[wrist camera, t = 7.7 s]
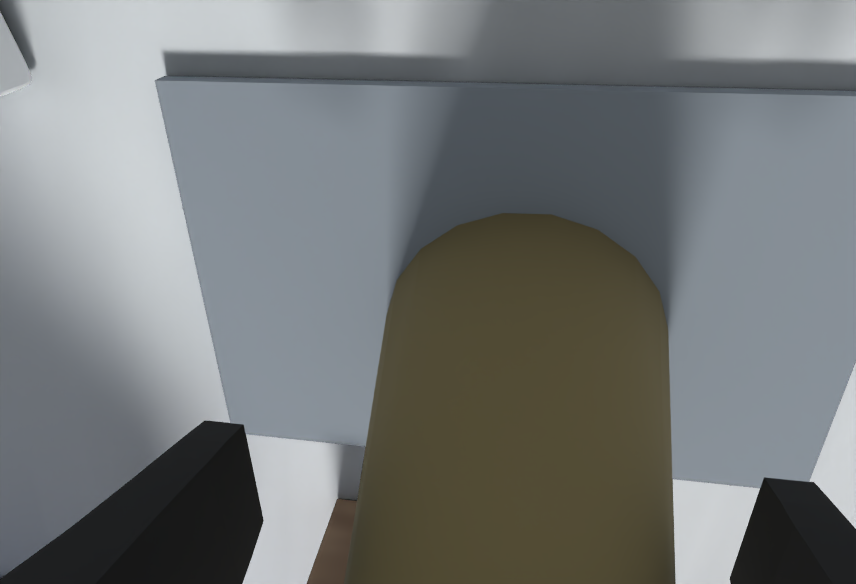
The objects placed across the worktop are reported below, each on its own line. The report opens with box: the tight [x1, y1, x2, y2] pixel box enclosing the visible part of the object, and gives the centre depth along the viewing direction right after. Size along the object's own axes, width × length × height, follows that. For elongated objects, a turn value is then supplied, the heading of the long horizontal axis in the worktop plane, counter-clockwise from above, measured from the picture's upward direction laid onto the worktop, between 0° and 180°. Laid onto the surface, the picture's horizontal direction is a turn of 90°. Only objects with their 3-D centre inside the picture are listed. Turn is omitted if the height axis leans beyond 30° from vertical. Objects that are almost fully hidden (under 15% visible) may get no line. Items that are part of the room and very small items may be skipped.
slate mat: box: [155, 76, 856, 488], centre depth 14 cm, size 14×9×1 cm, turn 91°
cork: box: [344, 213, 675, 584], centre depth 10 cm, size 6×6×11 cm
